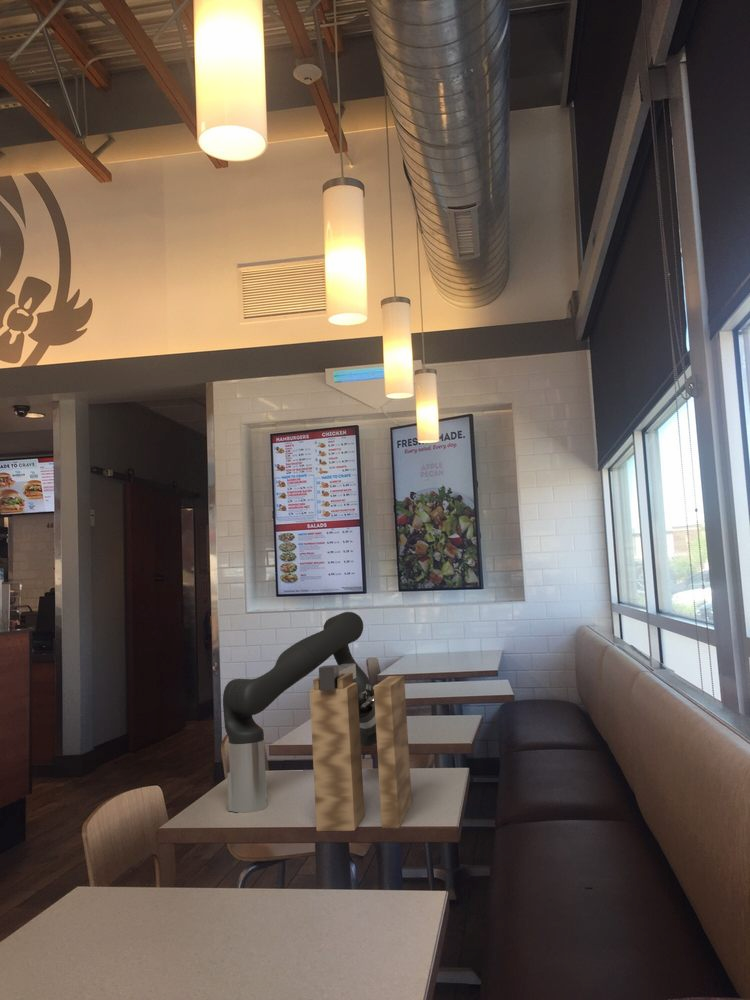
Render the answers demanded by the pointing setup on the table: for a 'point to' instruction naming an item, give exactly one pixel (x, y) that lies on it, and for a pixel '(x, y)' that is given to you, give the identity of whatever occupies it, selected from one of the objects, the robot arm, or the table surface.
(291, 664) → the robot arm
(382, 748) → the stand
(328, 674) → the grey metal bar
